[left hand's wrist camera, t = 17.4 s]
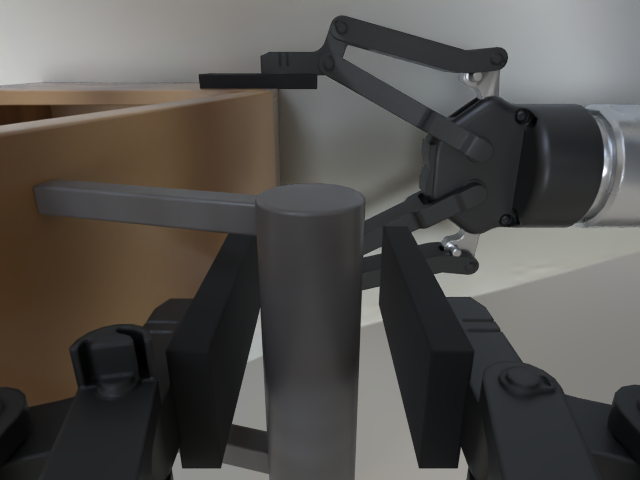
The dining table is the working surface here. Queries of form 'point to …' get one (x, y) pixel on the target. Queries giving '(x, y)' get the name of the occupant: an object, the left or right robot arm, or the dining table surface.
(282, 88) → the right robot arm
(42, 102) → the chest
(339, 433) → the lid
